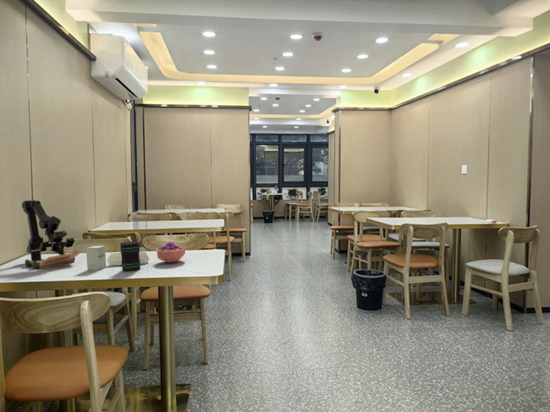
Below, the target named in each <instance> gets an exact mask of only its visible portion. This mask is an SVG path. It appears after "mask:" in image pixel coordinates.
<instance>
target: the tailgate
mask: <svg viewBox="0 0 550 412" xmlns="http://www.w3.org/2000/svg"><path fill="white" fill-rule="evenodd" d="M78 255H80V253H79V251H77V252H76V251H75V252H71V253H65V254H64V255H60V254H57V255H53V256H48V257H47V258H45V259H46V260H45V259H44V260H45V261H43V262H42V265H44V264H50V263H55V262H61V261H66V260H72V259H73V258H74V257H75V258H76V257H77V256H78Z"/></svg>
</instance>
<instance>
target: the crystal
mask: <svg viewBox="0 0 550 412" xmlns="http://www.w3.org/2000/svg"><path fill="white" fill-rule="evenodd" d="M139 259H140V265H144V264H147V263H148V262H149V261H150V256H149V254H148V253H147V251H145V250H143V251H140V252H139ZM121 261H122V255H121V252H113V253H110V254H109V256H108V257H107V260H106V262H107V263H108V265H109V267H113V266H114V267H115V266H116V267H117V266H122V263H121Z"/></svg>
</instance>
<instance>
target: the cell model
mask: <svg viewBox="0 0 550 412" xmlns="http://www.w3.org/2000/svg"><path fill="white" fill-rule="evenodd" d="M155 251H156V257H157V259H158V260H160V261H162V262H166V263H168V264H169V263H177V262H179V261H180V260H182V258H183V257H184V256H185V254H186V247H185V246H182V245H176V244H175V243H174V242H168V243H165V246H161V247H157V248H156V249H155Z"/></svg>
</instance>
